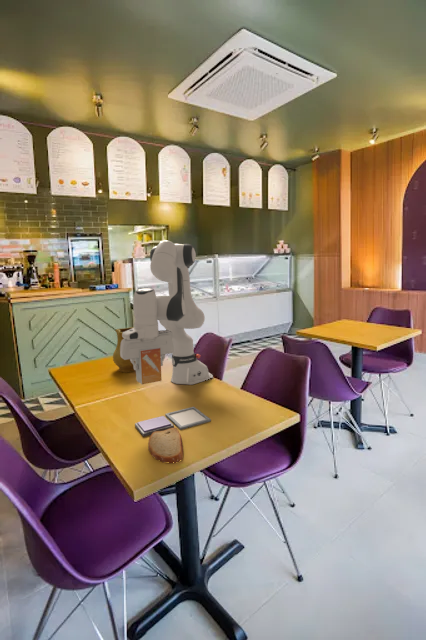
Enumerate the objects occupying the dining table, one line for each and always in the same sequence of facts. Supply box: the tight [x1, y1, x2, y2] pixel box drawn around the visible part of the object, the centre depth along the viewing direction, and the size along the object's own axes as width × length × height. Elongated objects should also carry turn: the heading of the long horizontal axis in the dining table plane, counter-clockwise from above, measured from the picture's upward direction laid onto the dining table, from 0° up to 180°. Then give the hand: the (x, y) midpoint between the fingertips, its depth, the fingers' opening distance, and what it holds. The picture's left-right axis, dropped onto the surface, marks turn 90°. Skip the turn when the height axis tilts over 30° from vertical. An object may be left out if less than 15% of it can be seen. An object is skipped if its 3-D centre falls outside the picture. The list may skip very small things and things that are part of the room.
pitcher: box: [112, 326, 136, 373], centre depth 210 cm, size 17×19×25 cm
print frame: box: [164, 406, 212, 430], centre depth 142 cm, size 13×15×1 cm
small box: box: [135, 348, 163, 385], centre depth 135 cm, size 8×6×13 cm
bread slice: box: [147, 427, 184, 464], centre depth 121 cm, size 18×18×4 cm
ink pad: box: [134, 415, 175, 437], centre depth 135 cm, size 12×10×2 cm
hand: (148, 367), depth 135 cm, fingers closed on small box, 8 cm apart
